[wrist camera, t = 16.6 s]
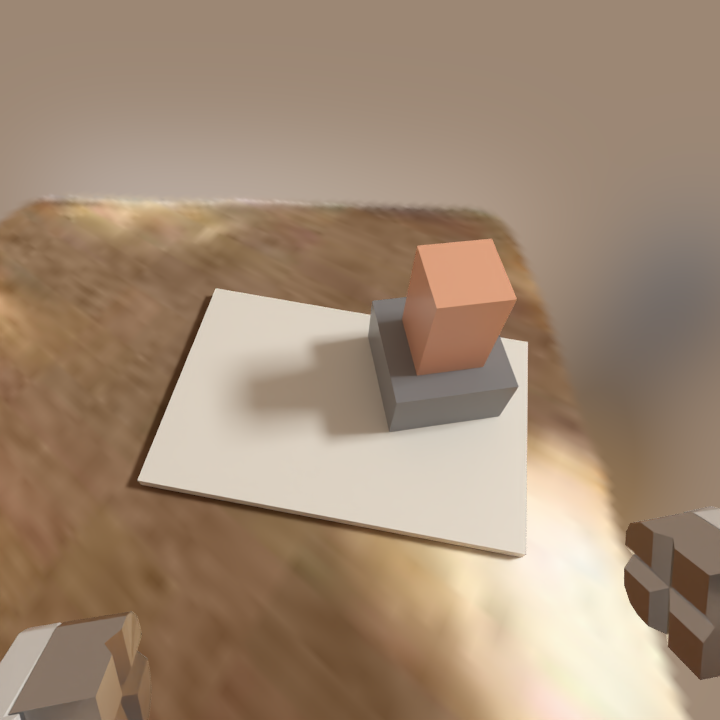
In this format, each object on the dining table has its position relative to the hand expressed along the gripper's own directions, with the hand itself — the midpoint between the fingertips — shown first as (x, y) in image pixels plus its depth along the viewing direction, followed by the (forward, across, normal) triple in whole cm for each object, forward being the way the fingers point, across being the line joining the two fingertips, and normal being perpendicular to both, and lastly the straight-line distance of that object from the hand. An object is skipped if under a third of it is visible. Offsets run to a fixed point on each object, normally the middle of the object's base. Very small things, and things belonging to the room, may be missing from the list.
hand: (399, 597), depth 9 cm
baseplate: (+33, -3, +8) cm, 34 cm away
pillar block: (+30, -10, +3) cm, 32 cm away
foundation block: (+34, -10, +7) cm, 36 cm away
